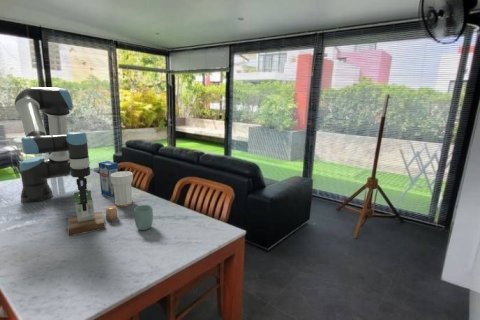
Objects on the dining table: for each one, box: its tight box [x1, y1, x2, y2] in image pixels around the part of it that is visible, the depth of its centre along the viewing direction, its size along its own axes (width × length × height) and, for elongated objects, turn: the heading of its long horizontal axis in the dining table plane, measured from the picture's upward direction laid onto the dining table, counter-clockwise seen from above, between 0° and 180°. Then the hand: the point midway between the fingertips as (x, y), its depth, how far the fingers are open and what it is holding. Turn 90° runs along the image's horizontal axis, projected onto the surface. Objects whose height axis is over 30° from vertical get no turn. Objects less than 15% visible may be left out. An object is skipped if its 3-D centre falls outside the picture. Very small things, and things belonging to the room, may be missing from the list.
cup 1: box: [110, 170, 134, 207], centre depth 151 cm, size 11×11×17 cm
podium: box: [67, 210, 106, 236], centre depth 126 cm, size 14×14×3 cm
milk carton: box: [97, 160, 119, 198], centre depth 164 cm, size 10×6×20 cm, turn 58°
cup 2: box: [133, 204, 154, 231], centre depth 124 cm, size 8×8×10 cm
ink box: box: [74, 189, 95, 223], centre depth 124 cm, size 7×4×13 cm, turn 124°
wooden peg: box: [105, 205, 119, 222], centre depth 133 cm, size 5×5×6 cm
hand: (85, 211), depth 125 cm, fingers open, 13 cm apart
